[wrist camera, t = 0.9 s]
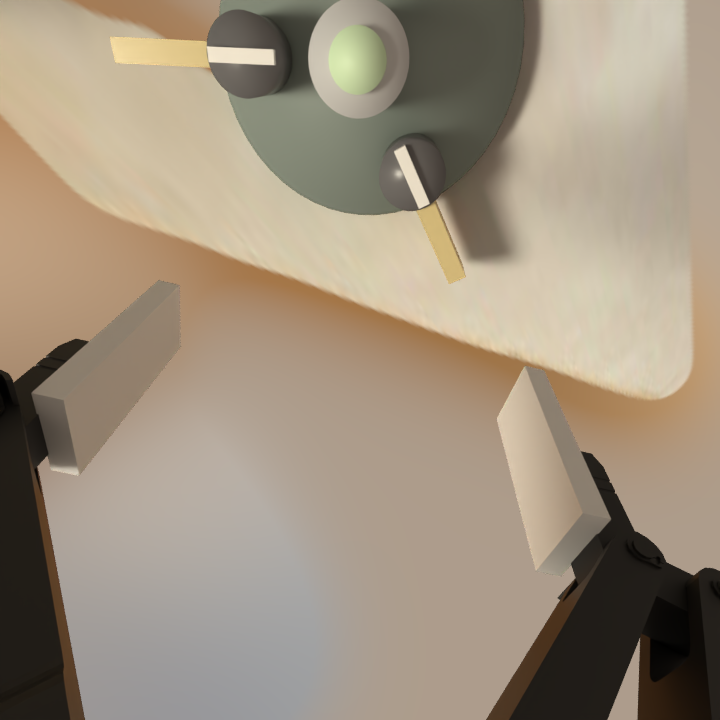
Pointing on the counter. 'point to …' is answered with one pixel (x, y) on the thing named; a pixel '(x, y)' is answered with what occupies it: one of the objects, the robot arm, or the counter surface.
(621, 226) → the counter surface
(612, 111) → the counter surface
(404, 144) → the knob
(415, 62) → the tribrach plate
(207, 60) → the knob
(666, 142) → the counter surface
